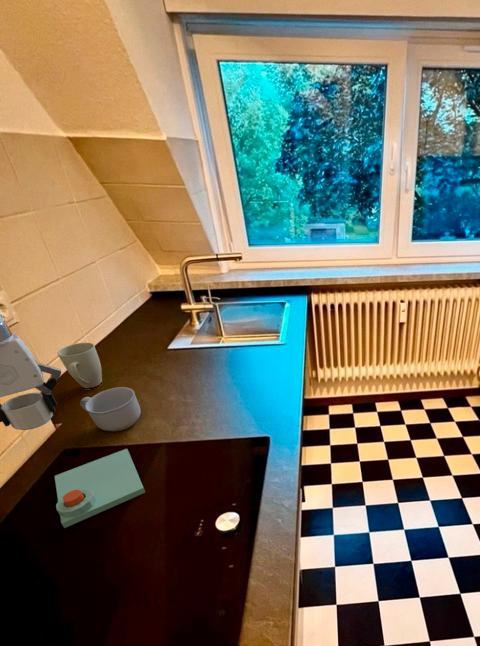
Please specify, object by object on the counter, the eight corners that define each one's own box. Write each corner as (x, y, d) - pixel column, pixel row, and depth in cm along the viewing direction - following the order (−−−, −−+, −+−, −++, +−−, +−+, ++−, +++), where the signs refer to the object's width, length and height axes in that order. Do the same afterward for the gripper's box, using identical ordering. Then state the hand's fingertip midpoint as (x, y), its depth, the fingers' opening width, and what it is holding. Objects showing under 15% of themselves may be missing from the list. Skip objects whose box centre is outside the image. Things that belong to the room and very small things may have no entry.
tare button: (67, 509, 72) (63, 504, 71) (65, 500, 74) (61, 494, 73) (85, 502, 73) (82, 496, 72) (83, 492, 75) (80, 487, 74)
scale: (64, 528, 71) (57, 517, 70) (57, 480, 82) (50, 470, 80) (145, 492, 78) (140, 482, 77) (129, 453, 89) (124, 442, 87)
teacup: (154, 416, 101) (143, 390, 97) (120, 441, 93) (107, 414, 88) (113, 407, 105) (102, 382, 101) (77, 431, 97) (63, 404, 93)
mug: (66, 389, 115) (47, 353, 108) (99, 375, 122) (84, 340, 115) (85, 399, 110) (67, 361, 103) (119, 383, 117) (104, 347, 110)
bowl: (14, 436, 76) (0, 415, 73) (13, 420, 80) (1, 400, 77) (55, 422, 79) (44, 402, 76) (52, 408, 84) (41, 389, 81)
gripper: (-87, 355, 62) (-25, 442, 72) (43, 328, 71) (82, 408, 81) (-80, 341, 67) (-24, 423, 77) (40, 317, 76) (78, 394, 86)
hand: (30, 415), depth 79 cm, fingers closed on bowl, 6 cm apart
